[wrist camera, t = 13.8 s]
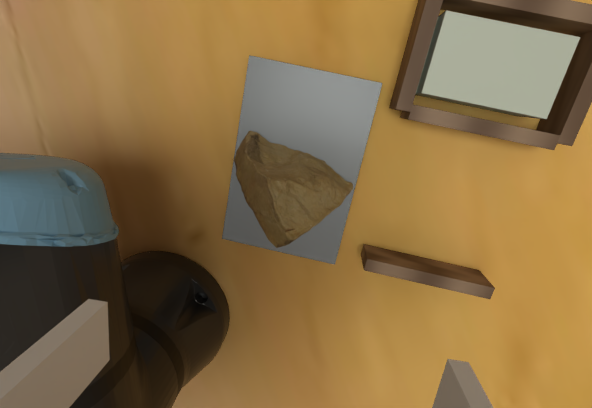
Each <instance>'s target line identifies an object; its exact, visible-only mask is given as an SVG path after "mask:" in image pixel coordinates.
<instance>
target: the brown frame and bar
mask: <svg viewBox="0 0 592 408" xmlns="http://www.w3.org/2000/svg"><path fill="white" fill-rule="evenodd" d="M440 9H442V10H447V11H452V12H457V13H462V14H467V15H472V16H477V17H482V18H487V19H492V20H497V21H502V22H507V23H512V24H517V25H522V26H527V27H532V28H537V29H542V30H547V31H552V32H558V33H563V34H568V35H573V36H577V37H580V40H579V42H578V44H577V47H576V49H575V52H574V54H573V57H572V59H571V61H570V64H569V66H568V69H567V71H566V74H565V76H564V78H563V81H562V83H561V86H560V88H559V91H558V93H557V95H556V98H555V100H554V103H553V105H552V108H551V110H550V112H549V115H548V117H547V119H541V120H540V122H539V125H538V127H537V130H532V129H527V128H522V127H517V126H513V125H508V124H503V123H498V122H494V121H489V120H484V119H479V118H475V117H470V116H465V115H460V114H456V113H451V112H446V111H441V110H437V109H432V108H427V107H422V106H418V105H413V101H414V98H415V94H416V91H417V88H418V84H419V81H420V77H421V74H422V70H423V67H424V64H425V60H426V57H427V53H428V50H429V47H430V43H431V40H432V36H433V33H434V29H435V26H436V23H437V19H438V16H439V12H440ZM591 102H592V5H591V4H586V3H581V2H576V1H571V0H419V1H418V5H417V8H416V12H415V16H414V19H413V23H412V27H411V30H410V34H409V37H408V41H407V45H406V48H405V52H404V56H403V59H402V63H401V67H400V70H399V74H398V78H397V81H396V85H395V89H394V92H393V96H392V100H391V103H390V107H389V108H391V109H395V110H400V111H402V113H401V116H400V118H405V119H409V120H414V121H419V122H423V123H428V124H433V125H437V126H442V127H447V128H452V129H456V130H461V131H466V132H470V133H475V134H480V135H485V136H489V137H494V138H499V139H503V140H508V141H513V142H518V143H522V144H527V145H532V146H536V147H541V148H546V149H551V150H554V149H555V147H556V144H557V143H558V144H563V145H569V146H572V145H573V143H574V141H575V138H576V136H577V134H578V132H579V129H580V127H581V125H582V123H583V120H584V118H585V116H586V114H587V111H588V109H589V107H590V105H591ZM361 257H362V263H363V268H364V270H365V271H370V272H374V273H378V274H383V275H387V276H391V277H396V278H400V279H404V280H409V281H413V282H417V283H422V284H426V285H431V286H435V287H439V288H444V289H448V290H452V291H457V292H461V293H465V294H470V295H474V296H478V297H483V298H487V299H490V298H491V296H492V294H493V291H494V289H495V288H494V287H493V285H492V284H491V283H490V282H489V281H488V280H487V279H486V277H485V276H484V275H483V274H482V273H481V272H480V271H479V270H475V269H471V268H466V267H462V266H458V265H453V264H449V263H444V262H440V261H435V260H431V259H427V258H422V257H418V256H413V255H409V254H405V253H400V252H396V251H391V250H387V249H383V248H378V247H374V246H369V245H365V244H364V246H363V249H362V253H361Z"/></svg>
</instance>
